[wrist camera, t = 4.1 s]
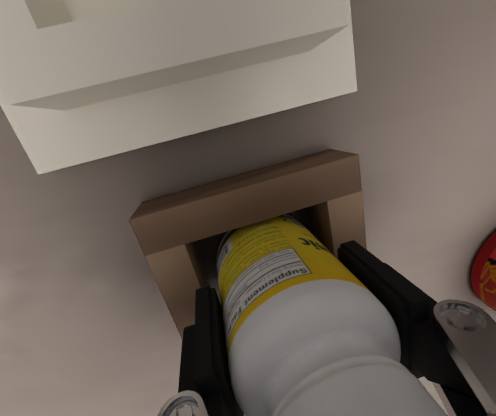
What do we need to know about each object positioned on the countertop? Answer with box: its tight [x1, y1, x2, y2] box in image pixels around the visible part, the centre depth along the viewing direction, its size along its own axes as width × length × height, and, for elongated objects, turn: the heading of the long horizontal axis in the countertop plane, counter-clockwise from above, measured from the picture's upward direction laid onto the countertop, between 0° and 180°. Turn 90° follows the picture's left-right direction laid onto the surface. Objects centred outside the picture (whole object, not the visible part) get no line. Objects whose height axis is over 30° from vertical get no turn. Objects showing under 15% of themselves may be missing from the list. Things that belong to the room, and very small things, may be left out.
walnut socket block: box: [129, 149, 367, 340], centre depth 13 cm, size 10×10×2 cm
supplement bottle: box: [217, 214, 448, 416], centre depth 10 cm, size 5×5×10 cm
